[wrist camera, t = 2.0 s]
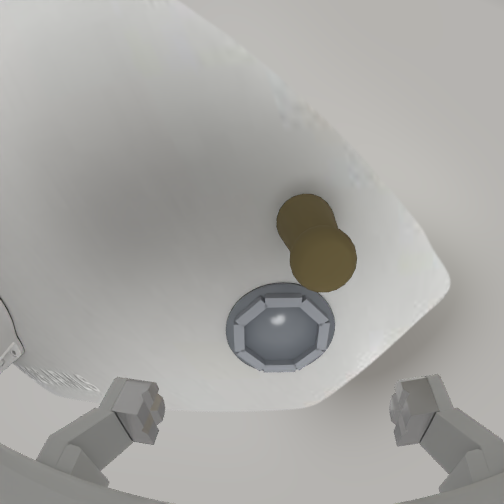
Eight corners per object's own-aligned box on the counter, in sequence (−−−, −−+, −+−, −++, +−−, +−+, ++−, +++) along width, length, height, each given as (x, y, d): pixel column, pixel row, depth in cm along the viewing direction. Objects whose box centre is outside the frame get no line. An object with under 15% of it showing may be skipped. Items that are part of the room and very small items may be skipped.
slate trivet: (277, 383, 42) (278, 391, 40) (204, 330, 38) (202, 338, 37) (354, 327, 38) (357, 335, 37) (283, 260, 35) (285, 266, 33)
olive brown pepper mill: (326, 253, 35) (354, 308, 24) (271, 245, 34) (278, 300, 24) (340, 199, 32) (377, 236, 22) (282, 188, 32) (296, 222, 22)
